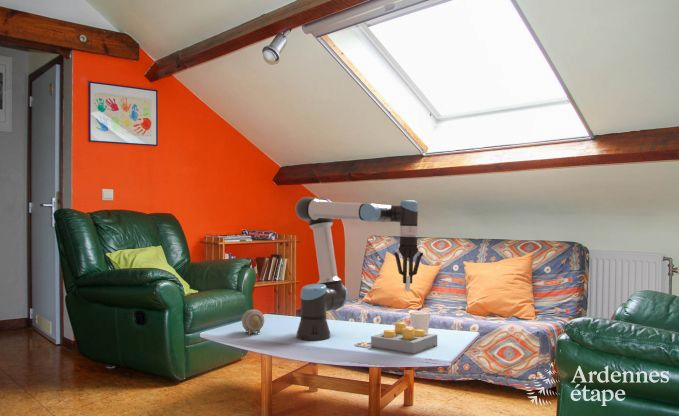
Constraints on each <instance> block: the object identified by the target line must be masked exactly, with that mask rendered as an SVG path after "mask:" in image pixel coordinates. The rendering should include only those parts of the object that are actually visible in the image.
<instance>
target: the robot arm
mask: <svg viewBox="0 0 679 416" xmlns="http://www.w3.org/2000/svg"><path fill="white" fill-rule="evenodd" d="M418 203H419V202H417V200H411V199H410V200H407V199H405V200H404V199H403V200H401V201H400V204H383V203H374V202H373V203H372V202H369V203H365V202H363V203H362V202H346V201H345V202H343V201H331V200H330V199H329V198H325V197H315V196H303V197H301V198H300V199H299V200H298V201H297V202H296V203H295V214H296V216H297V217H298V219H300V220H302V221H304V222H308V226H309V227H308V228H310V229H311V230H312V232H313V240H314V247H315V252H316V253H315V254H316V259H317V270H318V275H319V280H318V281H317V283H311V284H310V283H309V284H306V285H304V286H302V288H301V289H300V295H299V297H300V321H299V323H298V327H297V331H296V338H297V339H299V338H300V339H299V340H303V339H304V341H320V340H321V341H323V340H327V339H330V338H331V330H330V328H329V324H328V321H327V312H330V311H335V310H339V309H341V308H343V307H344V306H345V305H346V303H347V301H348V299H349V298H348V297H349V293H348V288H346V287H345V286H344V284H343V283H342V279H341V278H340V277H339V276H338V269H337V263H336V257H335V248H334V244H333V243H334V242H333V234H332V228H331V227H332V226H333V224H334V222H333V221H334V220H348V221H363V222H369V223H370V222H380V223H399V247H398V248H397V249H398V250H396V251H393V252H392V253H393V256H394V257H395V261H396V266H397V271H398V274H400V275H402V283H403V284H404V291H405V292H406V293H407V292H409V293H410V292H411V284H413V276H416V275H417V274H418V270H419V268H420V267H419V266H420V263H421V260H422V259H421V258H422V257H423V255H424V253H423V252H421V251H420V250H419V247H418V237H417V236H418V223H419V222H418V220H419V219H418V216H419V214H418V213H419V206H418ZM400 255H401V257H402V263H401V258H400ZM415 256H416V258H415ZM414 258H415V261H414Z"/></svg>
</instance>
